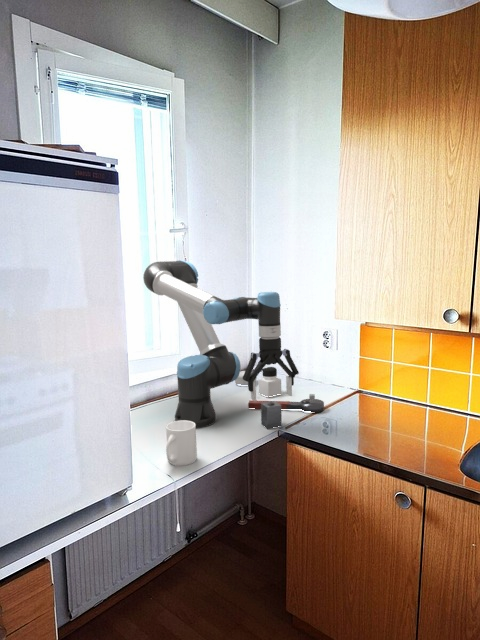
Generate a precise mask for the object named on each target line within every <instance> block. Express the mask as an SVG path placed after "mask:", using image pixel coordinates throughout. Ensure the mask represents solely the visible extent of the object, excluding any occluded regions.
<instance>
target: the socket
mask: <svg viewBox="0 0 480 640" xmlns="http://www.w3.org/2000/svg"><path fill="white" fill-rule="evenodd" d="M270 401H271V402H264V403H261V410H260V424H261V425H262V426H263V427H264V426H265V427H266V428H267V430H269V429H268V428H273V427H278V426H282V418H283V417H282V410H281V405H280V404H279V403H277V402H276V401H277V400H270ZM265 427H264V428H265ZM266 428H265V429H266ZM278 428H279V427H278ZM273 429H274V428H273Z"/></svg>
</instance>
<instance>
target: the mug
mask: <svg viewBox="0 0 480 640" xmlns="http://www.w3.org/2000/svg"><path fill="white" fill-rule="evenodd" d="M165 429H166V431H165V432H166V433H165V434H166V448H165V452H166V460H167V461H168V463H170V464H171V465H173V466H175V467H177V466H179V467H180V466H181V467H182V466H188V465H191V464H193V463H195V461H197V457H198V456H197V455H198V452H197V451H198V449H197V430H196V429H197V428H196V424H195V423H194V422H192V421H187V420H181V421H175V420H174V421H171V422H168V423H167V424H166V427H165Z"/></svg>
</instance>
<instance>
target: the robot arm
mask: <svg viewBox="0 0 480 640" xmlns="http://www.w3.org/2000/svg"><path fill="white" fill-rule="evenodd" d="M198 273H199V272H198V270H197V268H196V267H195V265H194V264H193V263H192V262H189V261H186V260H171V261H169V260H168V261H167V260H165V261H155V262H152V263H150V264H149V265H148V266H147V267H146V268H145V270H144V273H143V283H144V285H145V287H146V288H147V289H148V290H149V291H150V292H152V293H154V294H156V295H158V296H166V297H168V298H169V299H171V300H173V301H175V302H177V304H178V307H179V309H180V311H181V313H182V315H183V316H182V317H183V318H184V320H185V322H186V324H187V327H188V329H189V330H190V331H189V332H190V333H191V335H192V338H193V340H194V342H195V344H196V346H197V349H198V351H199V354H194V355H190V356H186V357H183V358H181V359H180V360H179V361H178V363H177V365H176V366H177V368H176V369H177V371H176V376H177V394H178V397H177V398H178V402H177V406H176V410H175V413H174V421H181V420H187V421H192V422H194V423H195V424H196V429H199V428H205V427H208V426H211V425H213V424H214V423H216V422H217V412H216V410H215V408H214V405H213V403H212V399H211V398H212V397H211V389H215V388H218V387H221V386H224V385H229V384H230V383H232V382H235V380H236V379H237V378H238V376H239V374H240V371H241V370H242V369H241V368H242V367H241V361H240V359H239V356H238V355H237V354H236V353H234V352H233V351H229V349H228V347H227V346H226V345H225V344H223V343H221V341H220V339H219V337H218V335H217V332H216V331H215V329H214V327H213V325H221V324H225V323H231V322H237V321H243V320H257V321H258V337H259V339H258V344H259V345H258V347H259V352H258V353H257V352H256V353H255V352H251V353H250V357H249V358H250V359H249V362H248V364H247V366H246V368H245V370H244V371H245V373H244V376H243V380H245V381H247V382H248V387H247V389H248V391H249V392H250V399H251V400H253V401H257V388H256V387H257V386H256V385H257V381H256V382H254V380H255V378H256V377H257V378H258V376H259V374H260V372H261V371H263V368H265V366H266V365H267V366H270V365H276V364H278V365H279V366H280V367H281V369H282V370H283V371H284V372H285V373H286V374H287V375H286V376H285V378H286V379H285V380H286V381H285V383H286V387H285V389H286V395H288V396H290V397H291V396H293V387H292V386H294V384H295V377H296V375H299V374H300V372H299V370H298V368H297V366H296V364H295V362H294V359H293V358H292V356H291V352H290V350H289V349H288V348H284V349H282V338H281V337H282V334H281V333H282V330H281V328H282V327H281V300H280V294H279V293H278V292H275V291H263V292H261V291H260V292H258V294H257V297H245V296H241V297H234V298H233V299H222V298H219V297H217V296H215V295H213V294H211V293H209V292H207V291H205V290H203V289H200V288H198V282H199V278H198V277H199V274H198ZM282 356H284V359H285V360H286V362H287V364H288V366H289V367H288V366H287V365H286V364H285V362H284V360H282V358H281V357H282ZM258 359H259V360H258ZM257 360H258V361H257ZM257 362H258V363H257ZM256 363H257V365H256ZM255 365H256V366H255ZM252 371H253V372H252Z"/></svg>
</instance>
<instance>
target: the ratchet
mask: <svg viewBox="0 0 480 640" xmlns="http://www.w3.org/2000/svg"><path fill="white" fill-rule="evenodd" d="M308 395H309V398H305V399H302V400H301V401H289V400H285V401H284V400H275V401H276V402H277V403H279V404H280V405H281V409H302V410H304V411H311V412H315V413H318V414H321V413H324V411H325V401H323V400H321V399H319V398H316V394H315V393H309V394H308ZM271 401H272V400H256V401H253V400H252V399H251V400H248V407H247V408H255V409H261V403H264V402H271Z"/></svg>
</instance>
